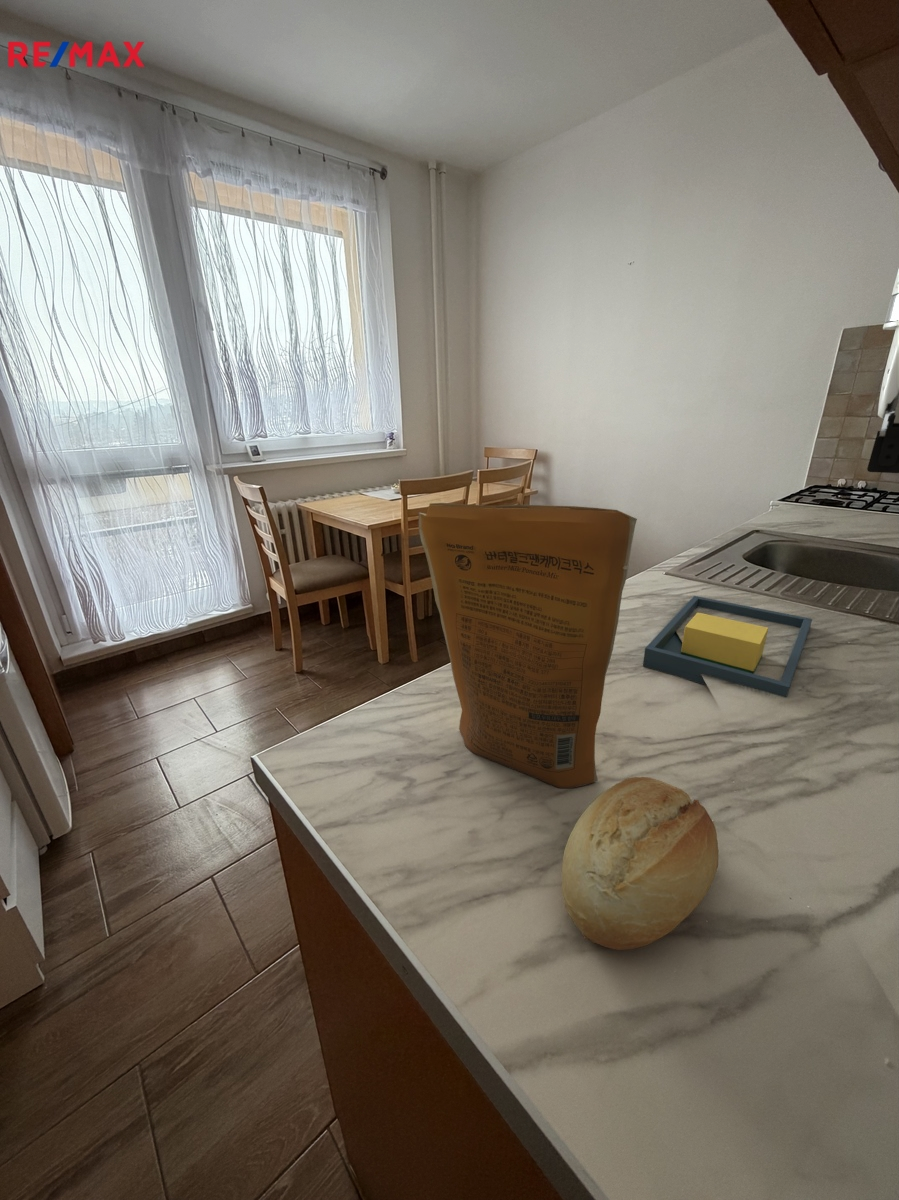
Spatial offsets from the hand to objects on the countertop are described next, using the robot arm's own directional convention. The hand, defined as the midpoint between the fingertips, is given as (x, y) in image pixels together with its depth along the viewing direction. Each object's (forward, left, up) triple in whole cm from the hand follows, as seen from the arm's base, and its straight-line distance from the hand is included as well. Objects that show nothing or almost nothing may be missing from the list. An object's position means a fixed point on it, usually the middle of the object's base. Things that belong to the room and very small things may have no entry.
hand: (884, 467), depth 61 cm
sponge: (+17, +6, -25) cm, 31 cm away
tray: (+14, +1, -26) cm, 30 cm away
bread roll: (+34, +42, -26) cm, 60 cm away
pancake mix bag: (+44, +29, -26) cm, 59 cm away
